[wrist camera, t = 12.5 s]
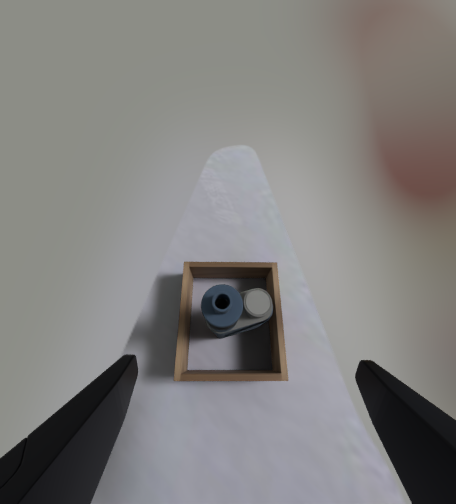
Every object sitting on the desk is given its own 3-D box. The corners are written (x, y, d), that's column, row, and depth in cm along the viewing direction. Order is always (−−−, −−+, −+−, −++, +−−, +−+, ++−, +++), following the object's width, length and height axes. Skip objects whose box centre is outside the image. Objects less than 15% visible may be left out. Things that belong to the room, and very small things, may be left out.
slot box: (278, 376, 21) (288, 380, 17) (181, 376, 20) (173, 380, 17) (269, 274, 25) (277, 262, 22) (189, 273, 25) (184, 261, 21)
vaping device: (207, 316, 23) (192, 284, 12) (255, 302, 23) (284, 259, 12) (213, 342, 22) (204, 333, 11) (263, 326, 22) (302, 303, 12)
